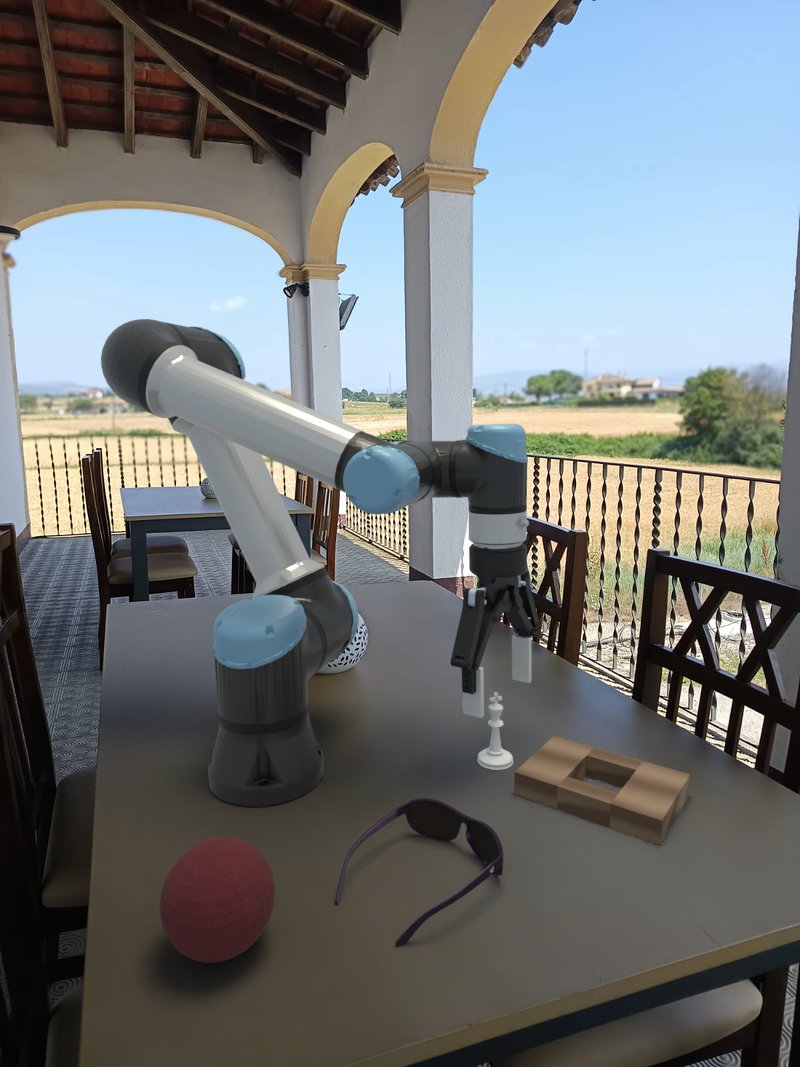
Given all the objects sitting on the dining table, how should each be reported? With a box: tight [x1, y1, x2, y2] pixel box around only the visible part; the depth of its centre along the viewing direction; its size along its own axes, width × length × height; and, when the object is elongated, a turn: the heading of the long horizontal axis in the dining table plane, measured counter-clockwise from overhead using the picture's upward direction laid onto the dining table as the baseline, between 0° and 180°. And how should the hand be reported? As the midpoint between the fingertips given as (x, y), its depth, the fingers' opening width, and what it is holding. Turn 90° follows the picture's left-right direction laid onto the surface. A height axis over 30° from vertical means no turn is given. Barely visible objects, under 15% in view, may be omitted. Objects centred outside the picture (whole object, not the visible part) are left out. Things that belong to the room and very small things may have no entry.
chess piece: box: [476, 691, 514, 771], centre depth 94 cm, size 5×5×10 cm
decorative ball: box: [159, 835, 276, 964], centre depth 61 cm, size 10×10×10 cm
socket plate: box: [513, 735, 691, 846], centre depth 86 cm, size 12×18×3 cm, turn 53°
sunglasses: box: [334, 797, 504, 948], centre depth 70 cm, size 14×16×5 cm
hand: (498, 697), depth 93 cm, fingers open, 13 cm apart
